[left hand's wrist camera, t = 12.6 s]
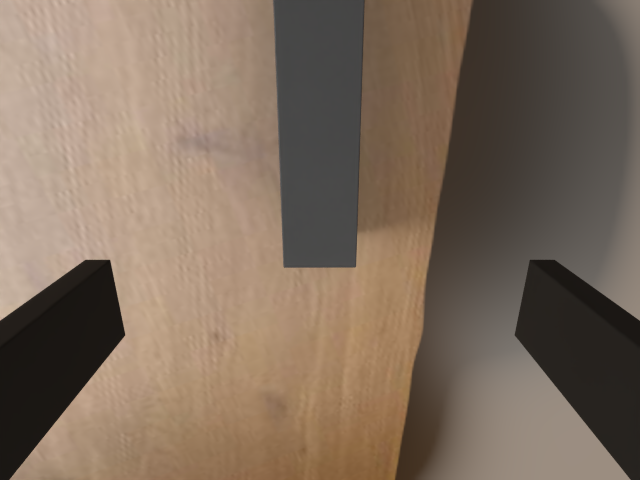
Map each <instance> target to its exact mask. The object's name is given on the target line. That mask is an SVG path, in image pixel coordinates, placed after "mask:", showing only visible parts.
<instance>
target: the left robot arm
mask: <svg viewBox="0 0 640 480" xmlns="http://www.w3.org/2000/svg"><path fill="white" fill-rule="evenodd" d="M124 336H125V331H124V326H123V321H122V316H121V312H120V307H119V302H118V297H117V292H116V287H115V282H114V277H113V272H112V267H111V262H110V260H85V261H83V262H82V263H81V264H79V265H78V266H76V267H75V268H74V269H72V270H71V271H69V272H68V273H66V274H65V275H64V276H62V277H61V278H59V279H58V280H57V281H55V282H54V283H52V284H51V285H50V286H48V287H47V288H45V289H44V290H43V291H41V292H40V293H38V294H37V295H36V296H34V297H33V298H31V299H30V300H29V301H27V302H26V303H24V304H23V305H22V306H20V307H19V308H17V309H16V310H15V311H13V312H12V313H10V314H9V315H8V316H6V317H5V318H3V319H2V320H1V321H0V480H9V479H10V478H11V477H12V476H13V474H14V473H15V472H16V471H17V469H18V468H19V467H20V466H21V464H22V463H23V462H24V461H25V459H26V458H27V457H28V456H29V454H30V453H31V452H32V451H33V449H34V448H35V447H36V446H37V444H38V443H39V442H40V441H41V439H42V438H43V437H44V436H45V434H46V433H47V432H48V431H49V429H50V428H51V427H52V426H53V424H54V423H55V422H56V421H57V420H58V418H59V417H60V416H61V415H62V413H63V412H64V411H65V410H66V408H67V407H68V406H69V405H70V403H71V402H72V401H73V400H74V398H75V397H76V396H77V395H78V393H79V392H80V391H81V390H82V388H83V387H84V386H85V385H86V383H87V382H88V381H89V380H90V378H91V377H92V376H93V375H94V373H95V372H96V371H97V370H98V368H99V367H100V366H101V365H102V363H103V362H104V361H105V360H106V358H107V357H108V356H109V355H110V353H111V352H112V351H113V350H114V349H115V347H116V346H117V345H118V344H119V342H120V341H121V340H122V339H123V337H124ZM515 336H516V337H517V339H518V340H519V341H520V342H521V343H522V345H523V346H524V347H525V349H526V350H527V351H528V352H529V353H530V355H531V356H532V357H533V358H534V360H535V361H536V362H537V363H538V365H539V366H540V367H541V368H542V370H543V371H544V372H545V373H546V375H547V376H548V377H549V378H550V380H551V381H552V382H553V383H554V385H555V386H556V387H557V388H558V390H559V391H560V392H561V393H562V395H563V396H564V397H565V398H566V400H567V401H568V402H569V403H570V405H571V406H572V407H573V408H574V410H575V411H576V412H577V413H578V415H579V416H580V417H581V418H582V420H583V421H584V422H585V423H586V424H587V426H588V427H589V428H590V429H591V431H592V432H593V433H594V434H595V436H596V437H597V438H598V439H599V441H600V442H601V443H602V444H603V446H604V447H605V448H606V449H607V451H608V452H609V453H610V454H611V456H612V457H613V458H614V459H615V461H616V462H617V463H618V464H619V465H620V467H621V468H622V469H623V471H624V472H625V473H626V474H627V475H628V477H629V478H630V479H631V480H640V321H639V320H638V319H637V318H635V317H634V316H632V315H631V314H630V313H628V312H627V311H625V310H624V309H622V308H621V307H620V306H618V305H617V304H616V303H614V302H613V301H611V300H610V299H608V298H607V297H606V296H604V295H603V294H602V293H600V292H599V291H597V290H596V289H595V288H593V287H592V286H590V285H589V284H588V283H586V282H585V281H583V280H582V279H580V278H579V277H578V276H576V275H575V274H573V273H572V272H571V271H569V270H568V269H566V268H565V267H564V266H562V265H561V264H559V263H558V262H557V261H555V260H530V262H529V267H528V272H527V277H526V282H525V287H524V292H523V297H522V302H521V307H520V312H519V317H518V321H517V327H516V331H515Z"/></svg>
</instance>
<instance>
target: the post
mask: <svg viewBox="0 0 640 480" xmlns="http://www.w3.org/2000/svg"><path fill="white" fill-rule="evenodd" d="M273 4H274V30H275V56H276V82H277V108H278V134H279V160H280V186H281V212H282V238H283V264H284V268H298V267H356V250H357V219H358V188H359V156H360V125H361V93H362V62H363V31H364V0H273Z"/></svg>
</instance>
